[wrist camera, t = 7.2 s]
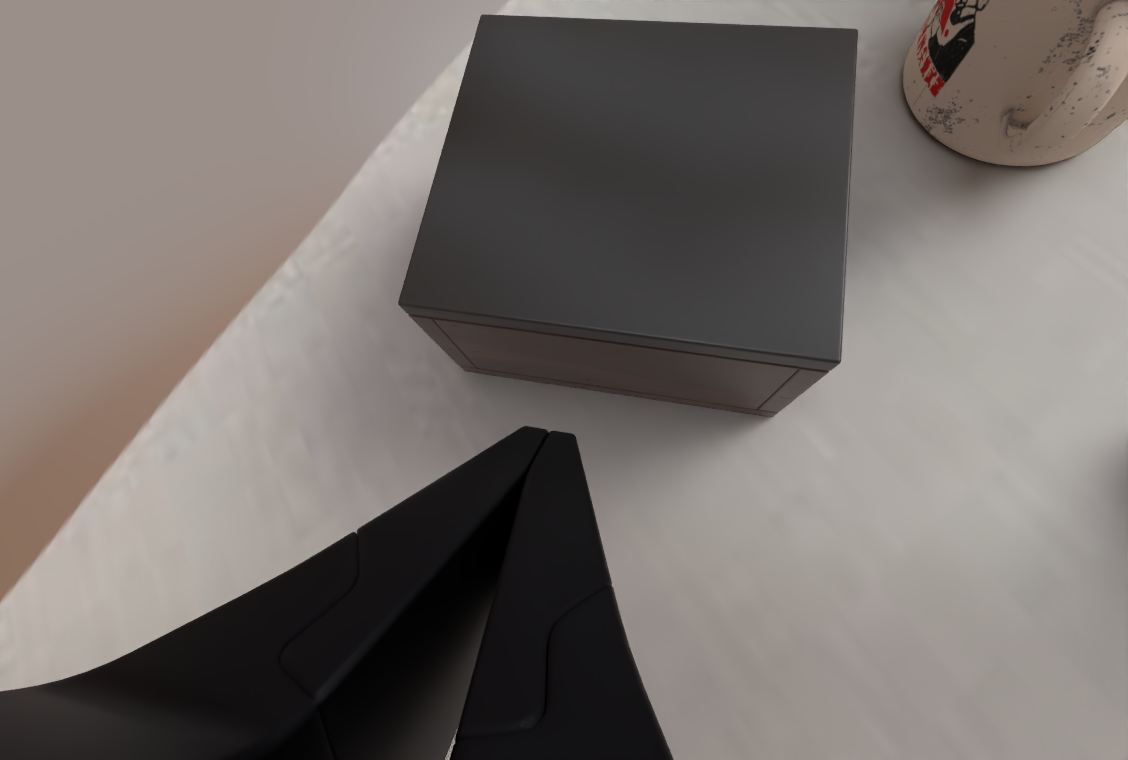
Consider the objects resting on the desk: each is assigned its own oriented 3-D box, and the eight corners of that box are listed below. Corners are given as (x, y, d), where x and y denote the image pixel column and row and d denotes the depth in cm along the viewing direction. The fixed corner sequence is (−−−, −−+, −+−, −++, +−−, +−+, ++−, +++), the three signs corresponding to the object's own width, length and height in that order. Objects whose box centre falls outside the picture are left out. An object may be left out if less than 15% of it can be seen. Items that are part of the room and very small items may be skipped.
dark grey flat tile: (486, 33, 20) (480, 13, 19) (848, 49, 18) (859, 27, 17) (407, 314, 17) (396, 304, 16) (831, 372, 15) (842, 363, 14)
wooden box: (514, 159, 25) (482, 48, 19) (793, 182, 23) (847, 66, 17) (463, 371, 22) (407, 315, 17) (773, 417, 20) (830, 372, 15)
